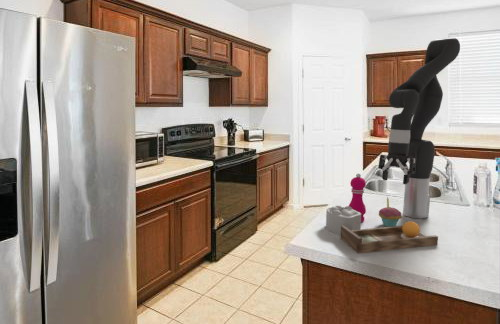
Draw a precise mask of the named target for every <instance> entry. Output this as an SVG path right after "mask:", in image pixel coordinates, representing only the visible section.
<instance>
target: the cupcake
mask: <svg viewBox="0 0 500 324" xmlns="http://www.w3.org/2000/svg"><path fill="white" fill-rule="evenodd" d="M388 197H389V196H387V197H386V207H383V208H380V209H379V211H378V216H379V217H380V218H381V221H382V224H383V226H384V227H393V226H397V224H398V222H399V220H401V219H402V218H403V217H402V212H401V211H400V210H399V209H397V208H395V207H390V201H389V198H388Z"/></svg>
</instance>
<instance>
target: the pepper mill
mask: <svg viewBox="0 0 500 324" xmlns="http://www.w3.org/2000/svg"><path fill="white" fill-rule="evenodd" d="M355 176H356V177H352V178H351V181H350V182H349V183H350V187H351V194H352V197H351V200H350V201H349V202H350V203H349V204H348V206H350V207H351V208H352V209H353V210H356V211H358V212H360V213H361V223H364V222H365V216H364V215H366V213H367V210H366V205H365V203H364V198H363V196H364V193H365V188H366V186H367V185H366V183H367V182H366V180H365V179H364V178H363V177H361V173H356V175H355Z"/></svg>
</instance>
